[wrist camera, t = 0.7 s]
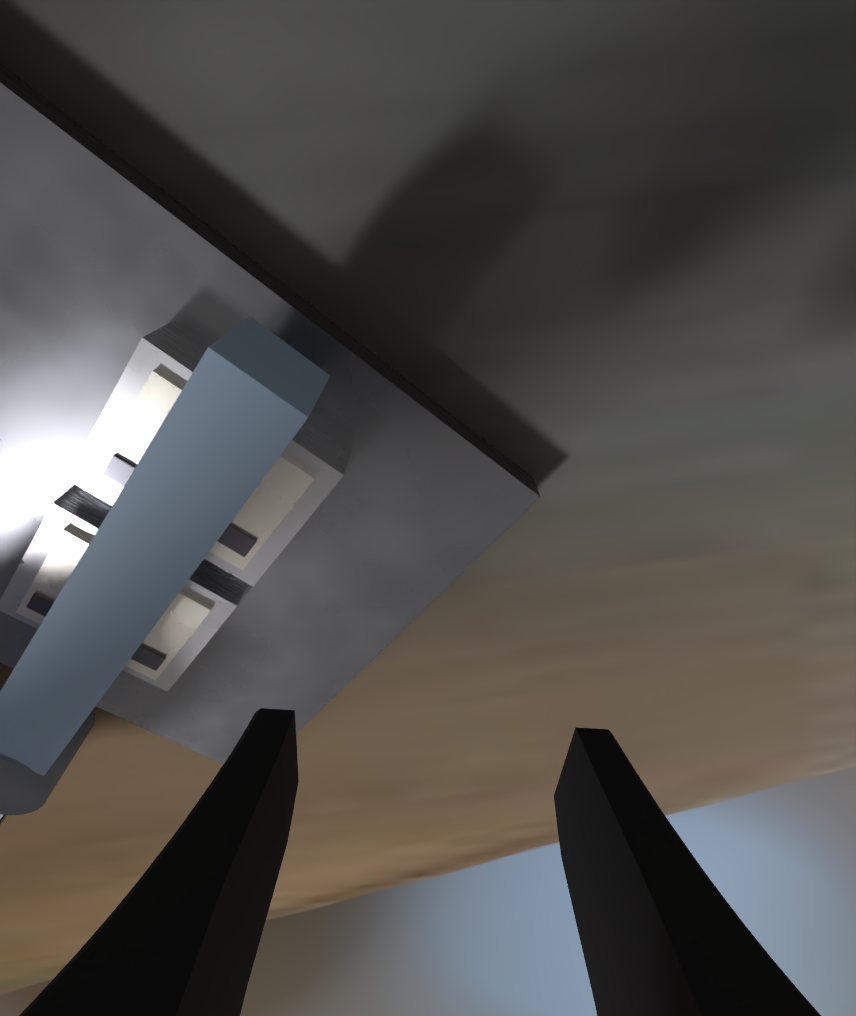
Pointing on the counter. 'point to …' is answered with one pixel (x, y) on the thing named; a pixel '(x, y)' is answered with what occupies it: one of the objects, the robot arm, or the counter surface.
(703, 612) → the counter surface
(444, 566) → the chassis
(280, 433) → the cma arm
